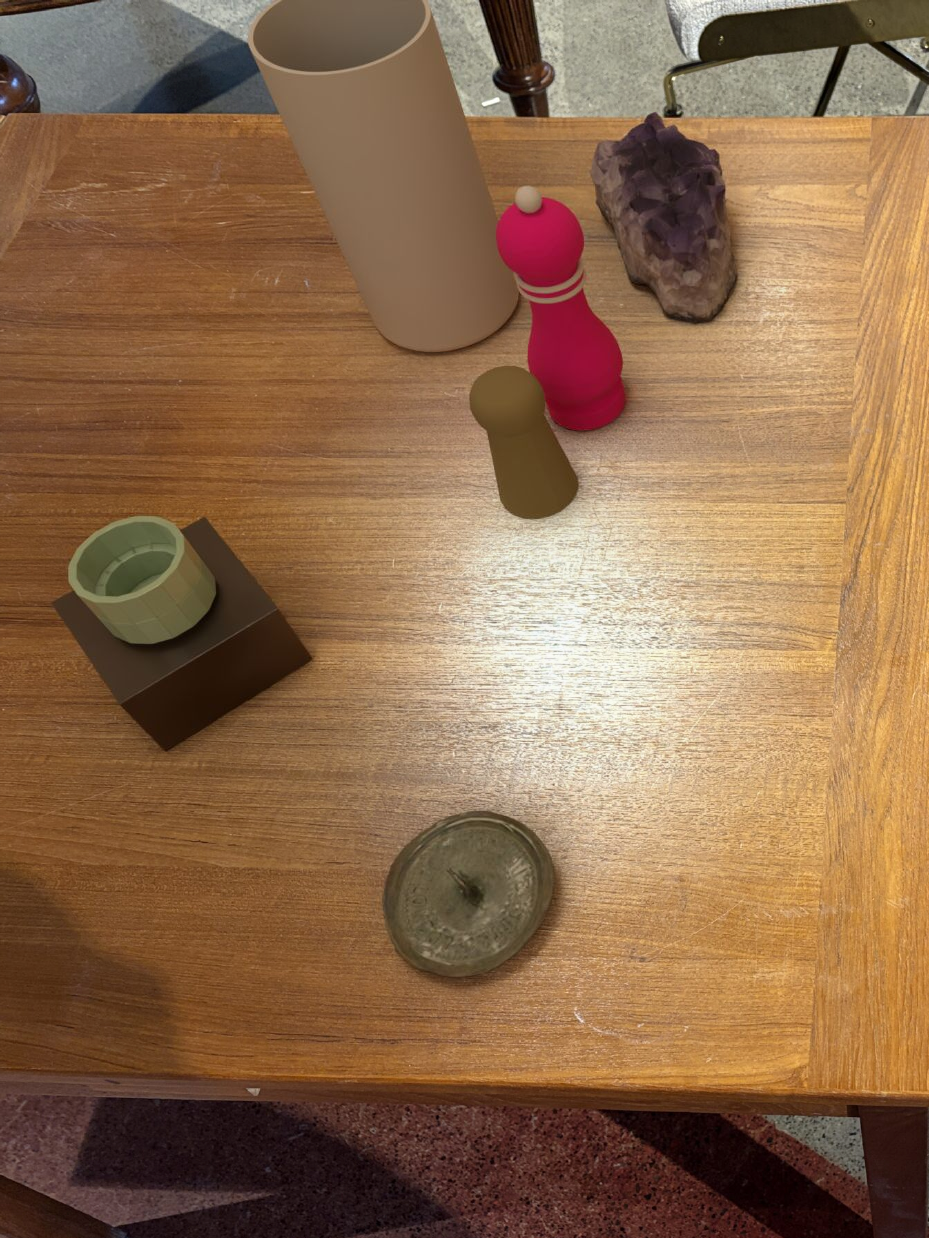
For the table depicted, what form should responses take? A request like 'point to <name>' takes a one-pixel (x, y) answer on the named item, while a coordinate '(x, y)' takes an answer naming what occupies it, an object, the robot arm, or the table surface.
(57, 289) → the table surface
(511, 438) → the brown peg doll
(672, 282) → the geode
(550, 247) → the pepper mill
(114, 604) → the bowl
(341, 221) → the cylinder vase
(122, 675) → the stand
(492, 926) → the lid
